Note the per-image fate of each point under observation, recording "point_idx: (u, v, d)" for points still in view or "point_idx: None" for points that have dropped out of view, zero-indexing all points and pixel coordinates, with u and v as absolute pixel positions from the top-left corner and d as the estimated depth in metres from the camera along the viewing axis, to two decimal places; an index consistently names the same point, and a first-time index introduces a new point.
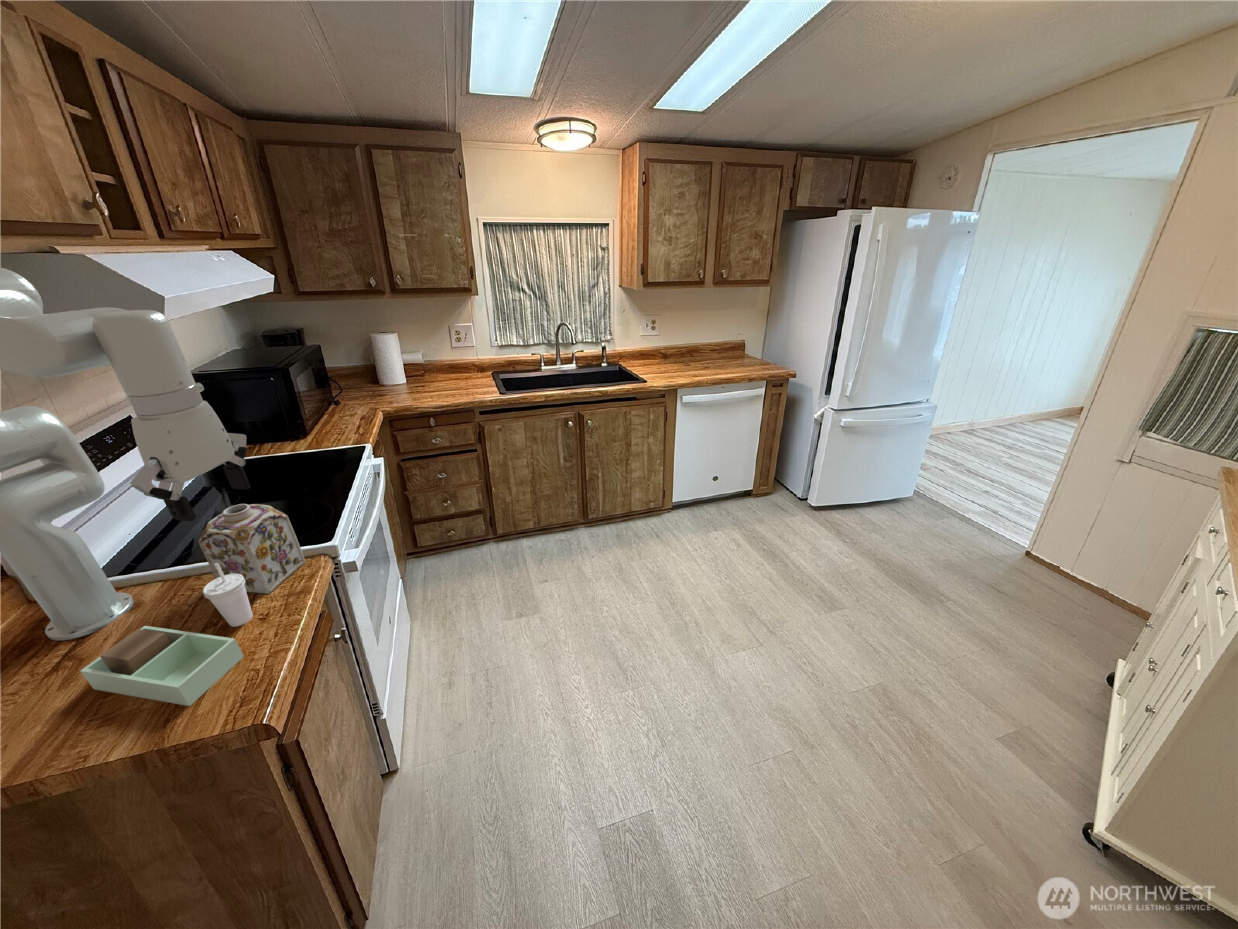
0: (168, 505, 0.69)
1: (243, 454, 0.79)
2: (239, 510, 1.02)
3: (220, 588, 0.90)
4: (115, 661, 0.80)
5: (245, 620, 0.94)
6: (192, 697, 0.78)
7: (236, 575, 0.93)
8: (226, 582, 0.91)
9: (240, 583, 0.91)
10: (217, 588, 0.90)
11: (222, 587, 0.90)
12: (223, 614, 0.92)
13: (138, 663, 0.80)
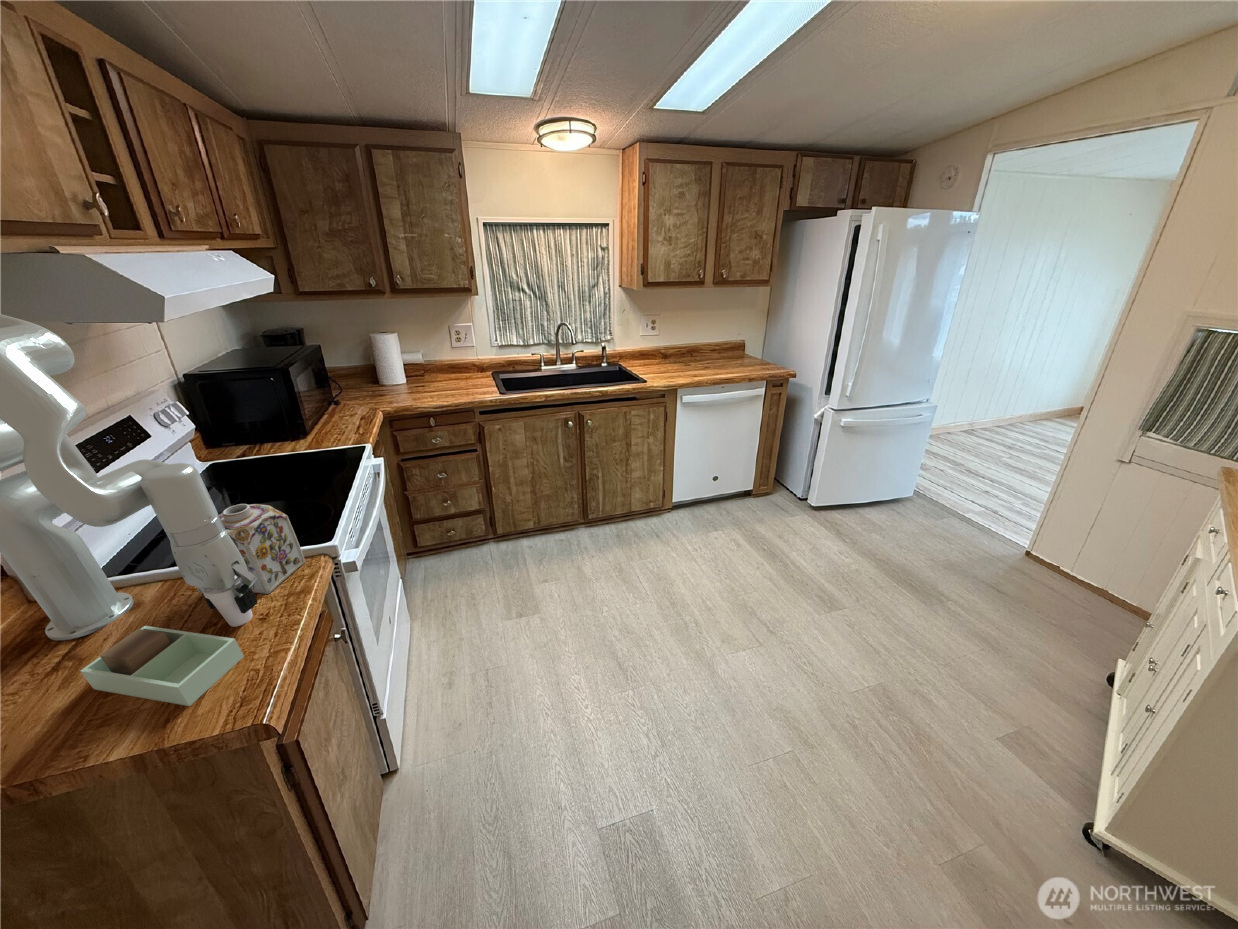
0: (246, 597, 0.91)
1: None
2: (239, 510, 1.02)
3: None
4: (115, 661, 0.80)
5: (245, 620, 0.94)
6: (192, 697, 0.78)
7: None
8: None
9: (240, 583, 0.91)
10: None
11: None
12: (223, 614, 0.92)
13: (138, 663, 0.80)
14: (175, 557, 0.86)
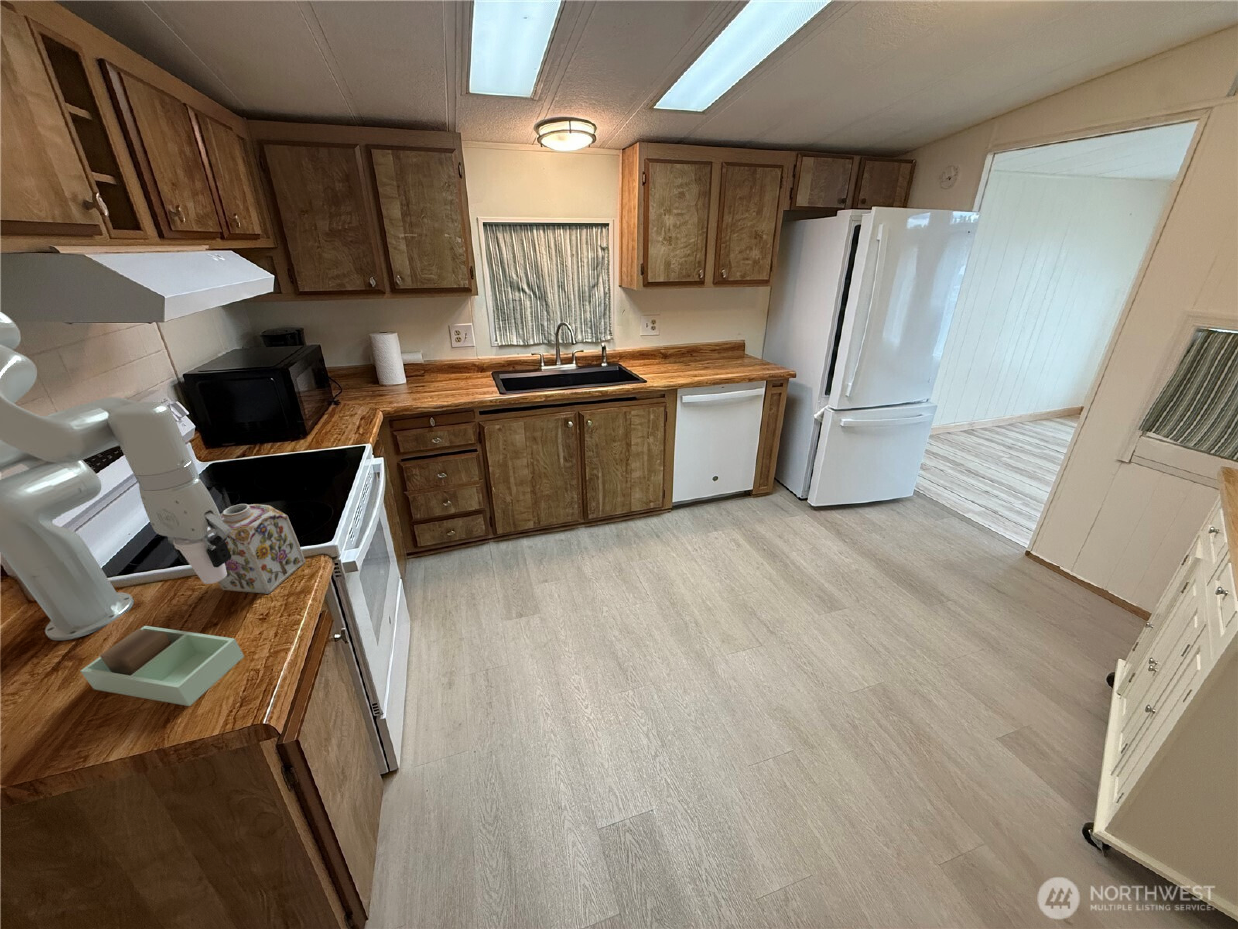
0: (220, 550, 0.86)
1: None
2: (239, 510, 1.02)
3: None
4: (115, 661, 0.80)
5: (218, 576, 0.89)
6: (192, 697, 0.78)
7: None
8: None
9: (214, 535, 0.87)
10: (189, 539, 0.85)
11: None
12: (194, 567, 0.87)
13: (138, 663, 0.80)
14: (144, 503, 0.81)
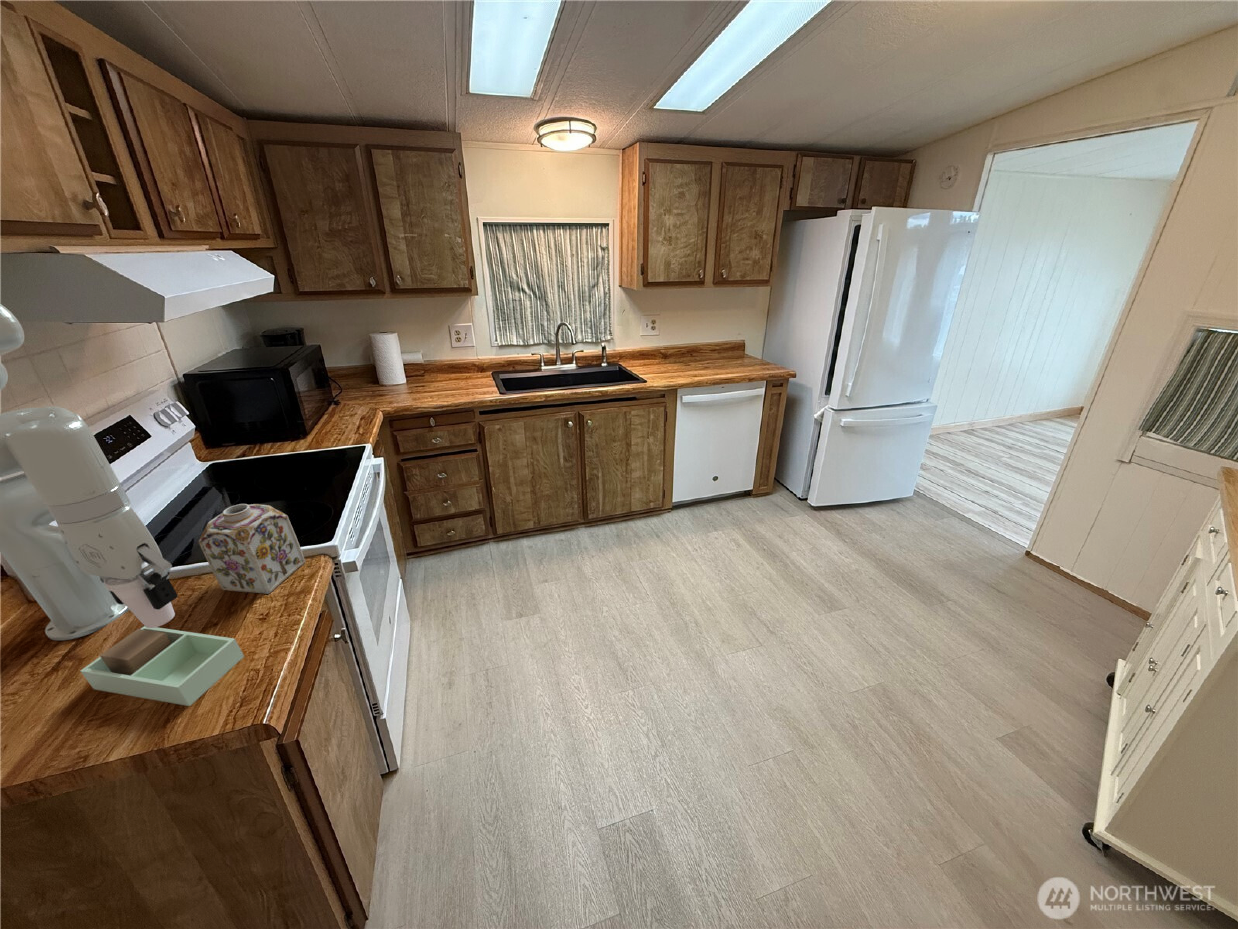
0: (160, 589, 0.73)
1: None
2: (239, 510, 1.02)
3: None
4: (115, 661, 0.80)
5: (162, 618, 0.76)
6: (192, 697, 0.78)
7: None
8: None
9: (153, 571, 0.73)
10: None
11: None
12: (132, 610, 0.73)
13: (138, 663, 0.80)
14: (64, 538, 0.68)
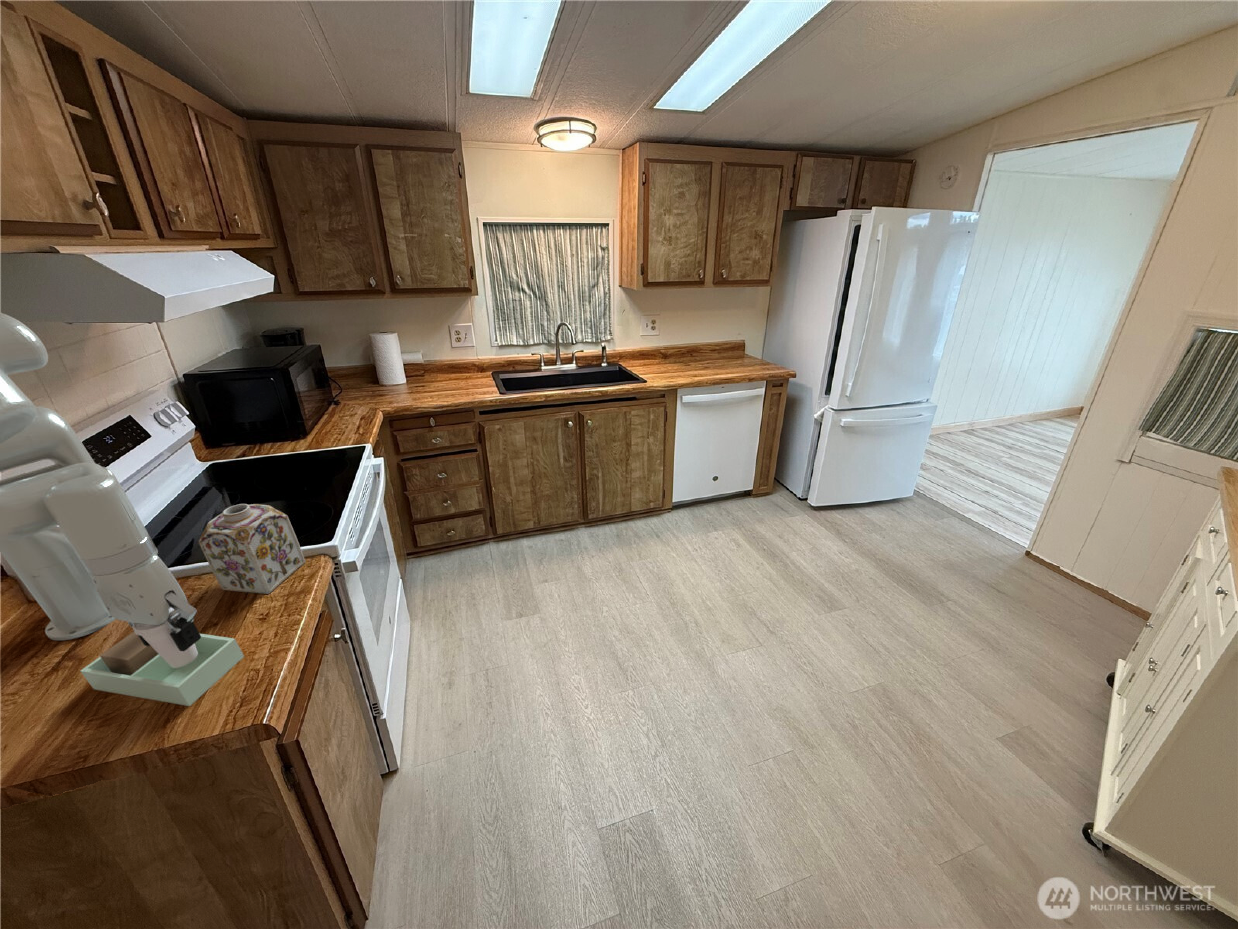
0: (185, 632, 0.77)
1: None
2: (239, 510, 1.02)
3: None
4: (115, 661, 0.80)
5: (186, 658, 0.80)
6: (192, 697, 0.78)
7: None
8: None
9: (178, 615, 0.77)
10: None
11: None
12: (159, 652, 0.77)
13: (138, 663, 0.80)
14: (96, 587, 0.72)
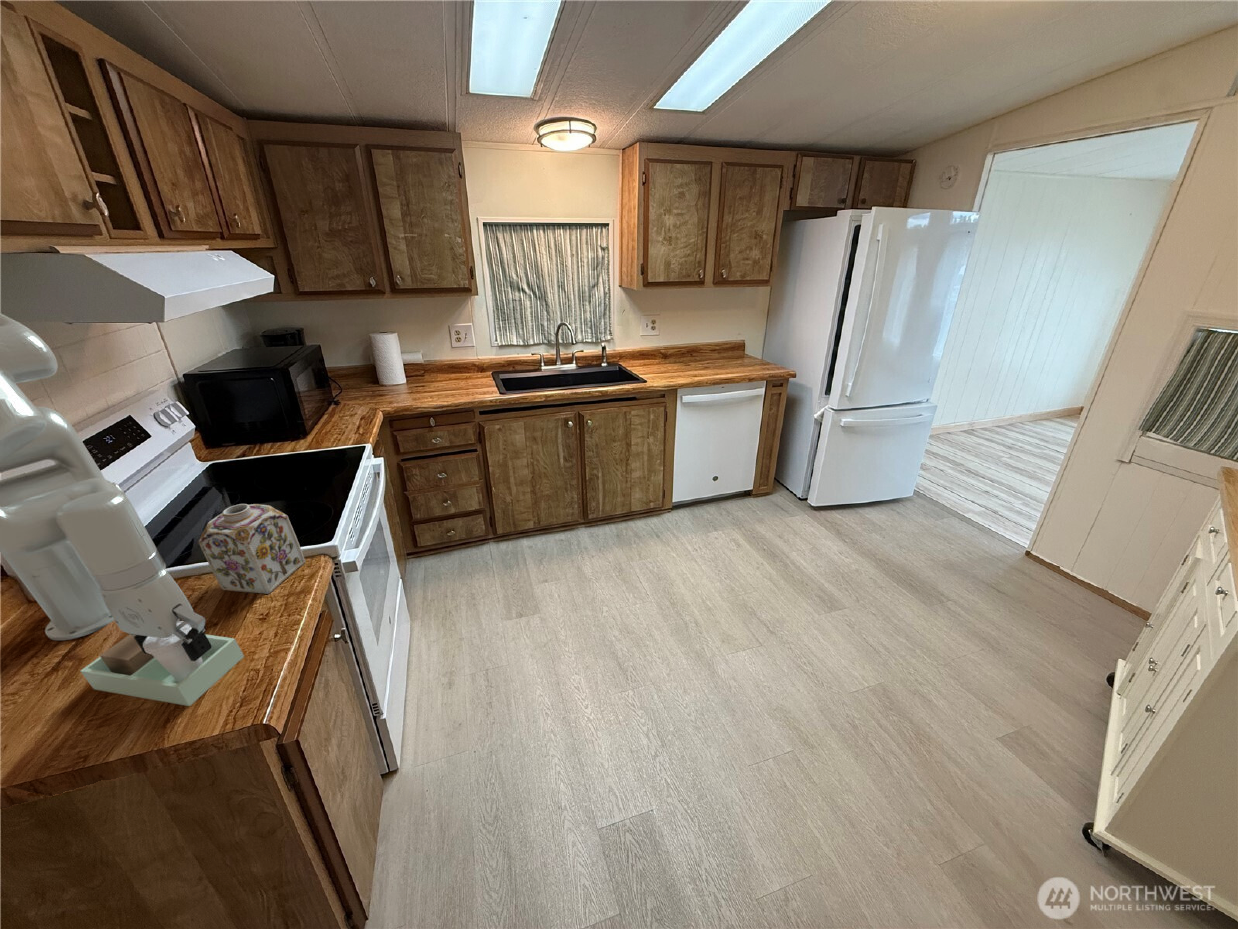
0: (197, 643, 0.78)
1: None
2: (239, 510, 1.02)
3: (163, 640, 0.78)
4: (115, 661, 0.80)
5: None
6: (192, 697, 0.78)
7: None
8: None
9: None
10: (160, 641, 0.77)
11: (166, 639, 0.78)
12: (168, 669, 0.79)
13: (138, 663, 0.80)
14: (105, 601, 0.73)
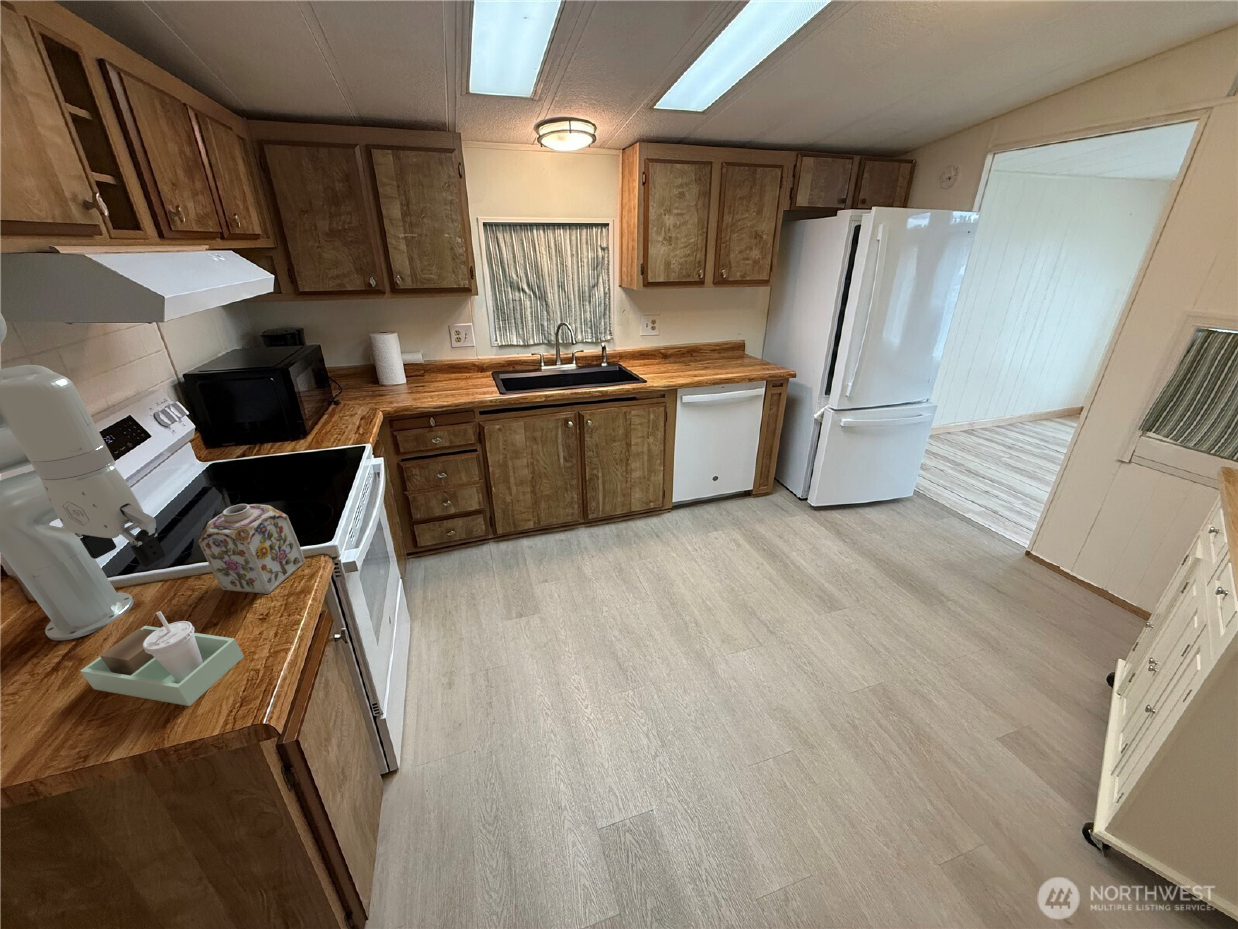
0: (148, 547, 0.73)
1: None
2: (239, 510, 1.02)
3: (163, 640, 0.78)
4: (115, 661, 0.80)
5: None
6: (192, 697, 0.78)
7: (184, 623, 0.81)
8: (171, 633, 0.79)
9: (187, 634, 0.79)
10: (160, 641, 0.77)
11: (166, 639, 0.78)
12: (168, 669, 0.79)
13: (138, 663, 0.80)
14: (48, 495, 0.69)
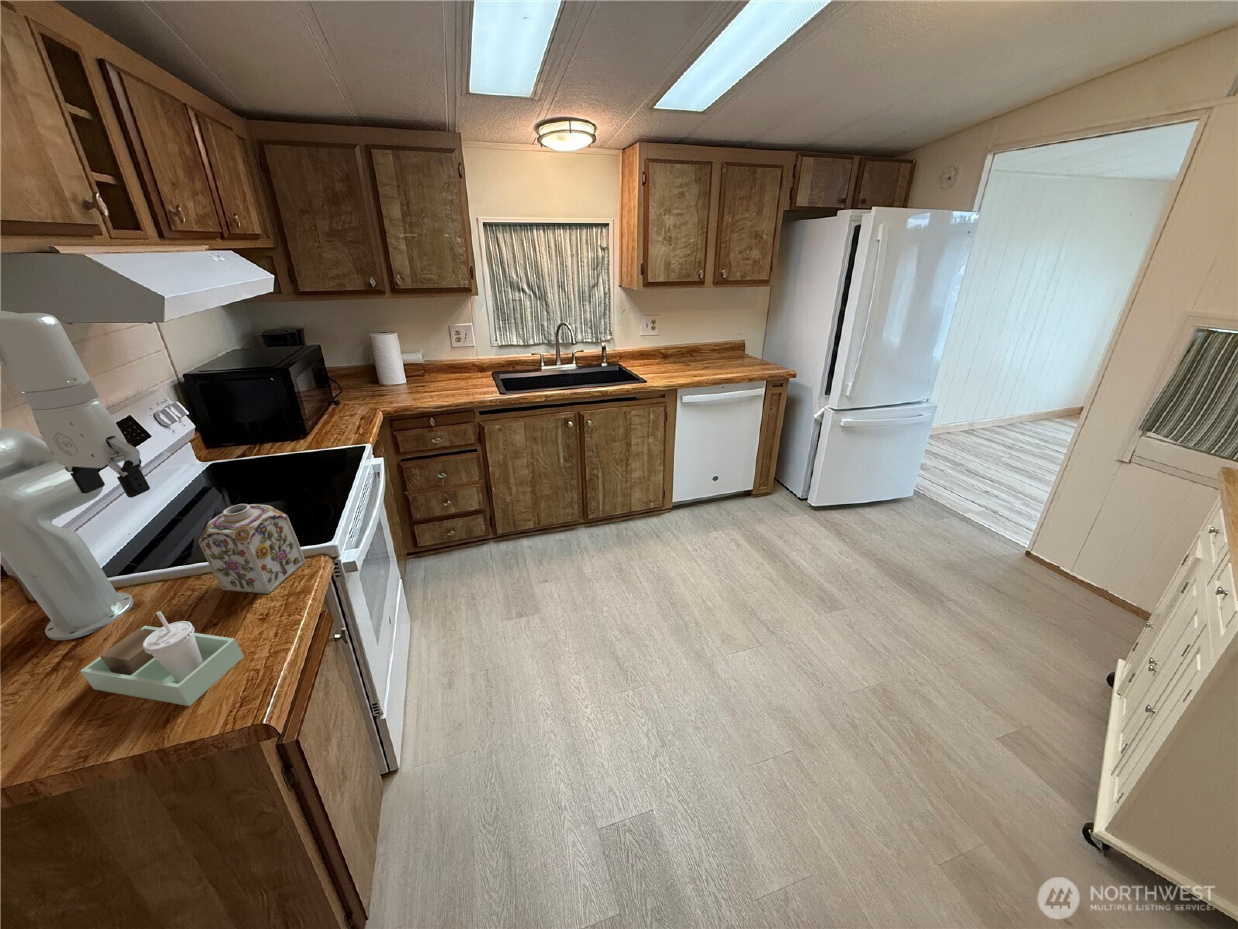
0: (133, 478, 0.79)
1: None
2: (239, 510, 1.02)
3: (163, 640, 0.78)
4: (115, 661, 0.80)
5: None
6: (192, 697, 0.78)
7: (184, 623, 0.81)
8: (171, 633, 0.79)
9: (187, 634, 0.79)
10: (160, 641, 0.77)
11: (166, 639, 0.78)
12: (168, 669, 0.79)
13: (138, 663, 0.80)
14: (39, 428, 0.75)
